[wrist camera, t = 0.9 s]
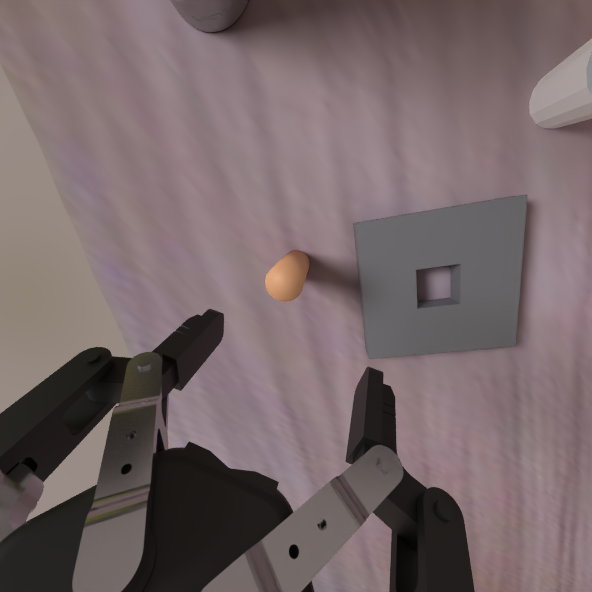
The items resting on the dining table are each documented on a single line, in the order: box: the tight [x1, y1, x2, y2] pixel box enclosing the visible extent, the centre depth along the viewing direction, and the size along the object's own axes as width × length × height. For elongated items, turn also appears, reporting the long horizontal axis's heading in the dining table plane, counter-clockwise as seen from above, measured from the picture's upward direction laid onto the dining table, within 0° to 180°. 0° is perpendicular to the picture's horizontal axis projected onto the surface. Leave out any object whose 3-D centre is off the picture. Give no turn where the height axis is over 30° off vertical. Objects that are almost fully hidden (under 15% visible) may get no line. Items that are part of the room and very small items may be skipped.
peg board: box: [353, 195, 527, 359], centre depth 32 cm, size 18×18×2 cm
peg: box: [265, 250, 310, 301], centre depth 29 cm, size 4×4×11 cm
